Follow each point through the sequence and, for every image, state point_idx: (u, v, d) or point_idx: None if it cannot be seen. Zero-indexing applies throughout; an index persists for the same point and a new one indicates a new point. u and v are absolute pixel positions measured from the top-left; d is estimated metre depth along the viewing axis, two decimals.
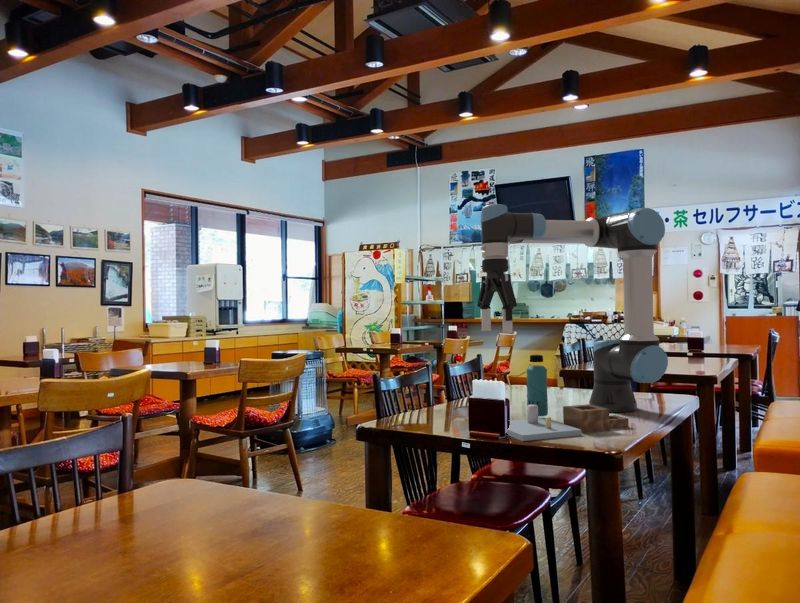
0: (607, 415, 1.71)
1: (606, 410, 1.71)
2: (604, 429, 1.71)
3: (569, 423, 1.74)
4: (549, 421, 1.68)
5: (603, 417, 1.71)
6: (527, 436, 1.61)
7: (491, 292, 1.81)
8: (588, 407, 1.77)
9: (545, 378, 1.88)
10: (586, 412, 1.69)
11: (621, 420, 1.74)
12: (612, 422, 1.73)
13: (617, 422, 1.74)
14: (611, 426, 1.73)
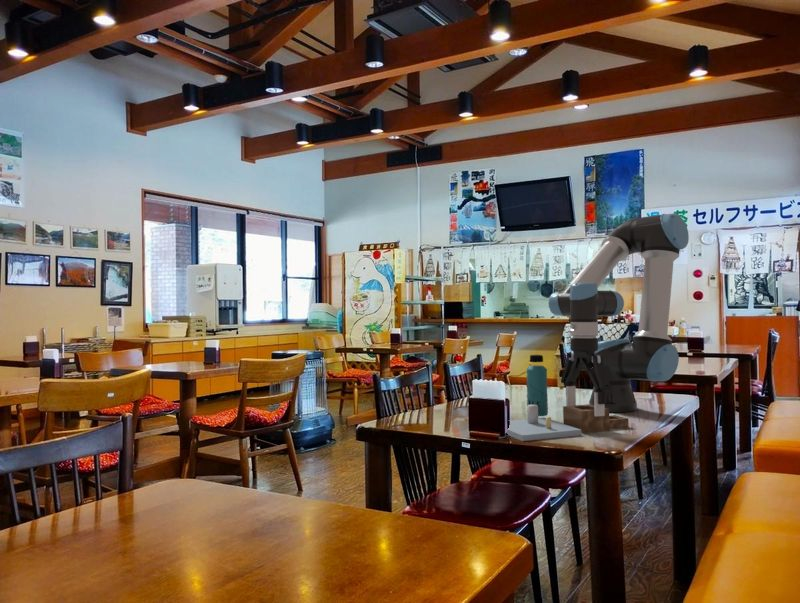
0: (607, 415, 1.71)
1: (606, 410, 1.71)
2: (604, 429, 1.71)
3: (569, 423, 1.74)
4: (549, 421, 1.68)
5: (603, 417, 1.71)
6: (527, 436, 1.61)
7: (578, 370, 1.77)
8: (588, 407, 1.77)
9: (545, 378, 1.88)
10: (586, 412, 1.69)
11: (621, 420, 1.74)
12: (612, 422, 1.73)
13: (617, 422, 1.74)
14: (611, 426, 1.73)
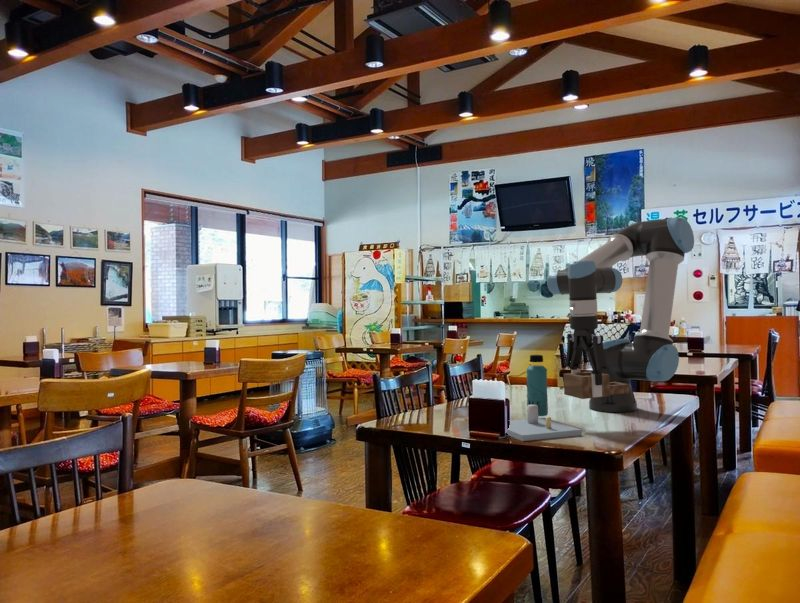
0: (607, 381, 1.71)
1: (606, 376, 1.71)
2: (605, 395, 1.71)
3: (570, 390, 1.74)
4: (549, 421, 1.68)
5: (603, 383, 1.71)
6: (527, 436, 1.61)
7: (580, 350, 1.77)
8: (588, 374, 1.77)
9: (545, 378, 1.88)
10: (586, 378, 1.69)
11: (621, 386, 1.75)
12: (612, 388, 1.74)
13: (617, 388, 1.74)
14: (612, 392, 1.74)
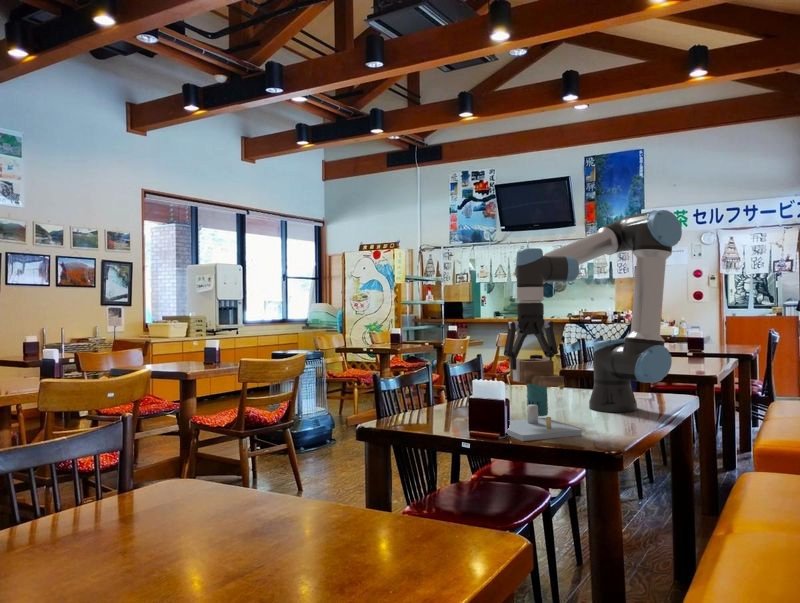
0: (524, 368, 1.72)
1: (523, 363, 1.72)
2: (522, 381, 1.73)
3: None
4: (549, 421, 1.68)
5: (522, 369, 1.73)
6: (527, 436, 1.61)
7: (538, 337, 1.77)
8: None
9: None
10: None
11: (540, 377, 1.67)
12: (534, 377, 1.69)
13: (537, 378, 1.68)
14: (533, 381, 1.70)
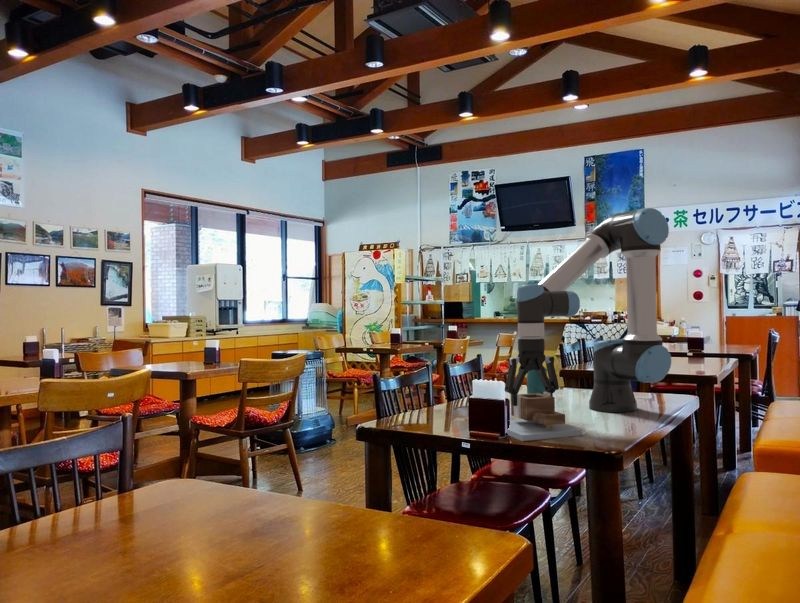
0: (525, 405, 1.72)
1: (524, 399, 1.72)
2: (523, 418, 1.73)
3: None
4: None
5: (523, 406, 1.73)
6: (527, 436, 1.61)
7: (539, 372, 1.77)
8: None
9: None
10: None
11: (541, 415, 1.66)
12: (535, 415, 1.69)
13: (538, 416, 1.68)
14: (534, 418, 1.70)
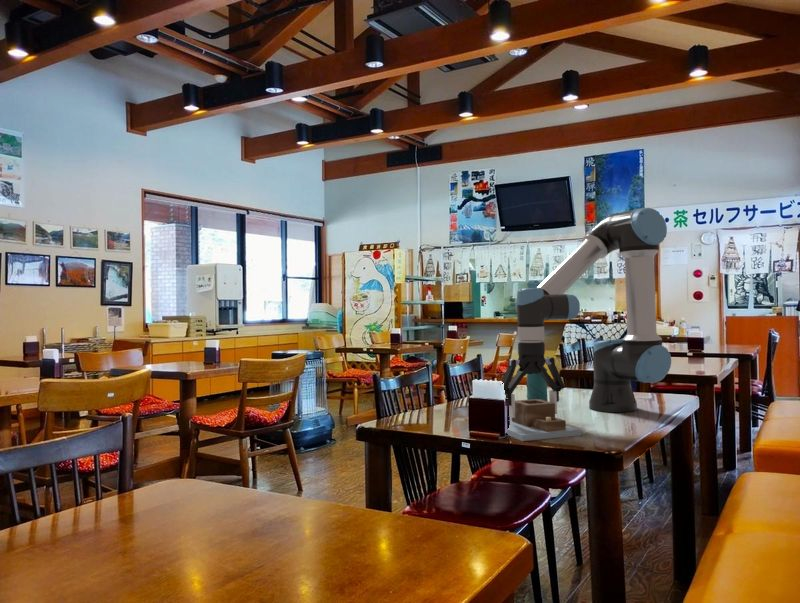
0: (525, 411, 1.72)
1: (525, 406, 1.72)
2: (524, 424, 1.73)
3: None
4: None
5: (523, 412, 1.73)
6: (527, 436, 1.61)
7: (542, 374, 1.78)
8: None
9: None
10: None
11: (541, 422, 1.67)
12: (535, 421, 1.69)
13: (538, 422, 1.68)
14: (535, 425, 1.70)
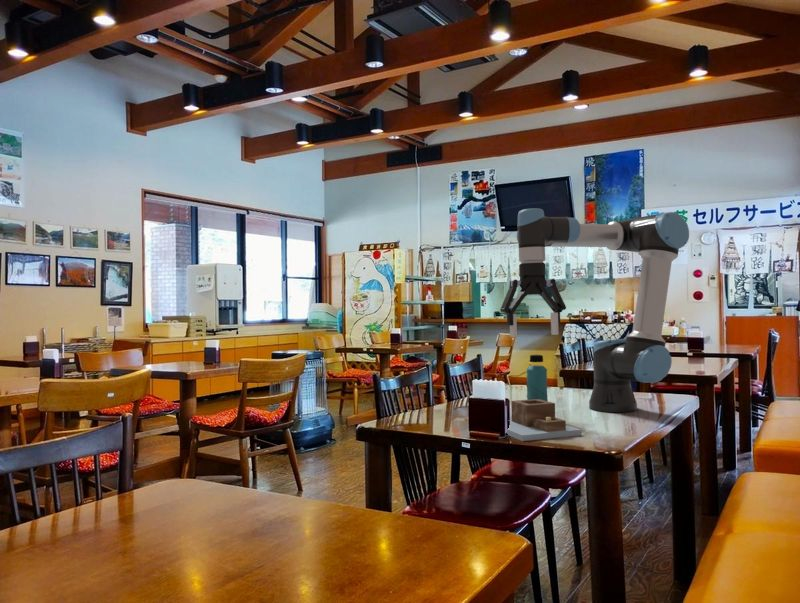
0: (525, 411, 1.72)
1: (525, 406, 1.72)
2: (524, 424, 1.73)
3: None
4: None
5: (523, 412, 1.73)
6: (527, 436, 1.61)
7: (543, 295, 1.78)
8: None
9: (545, 378, 1.88)
10: (514, 403, 1.78)
11: (541, 422, 1.67)
12: (535, 421, 1.69)
13: (538, 422, 1.68)
14: (535, 425, 1.70)
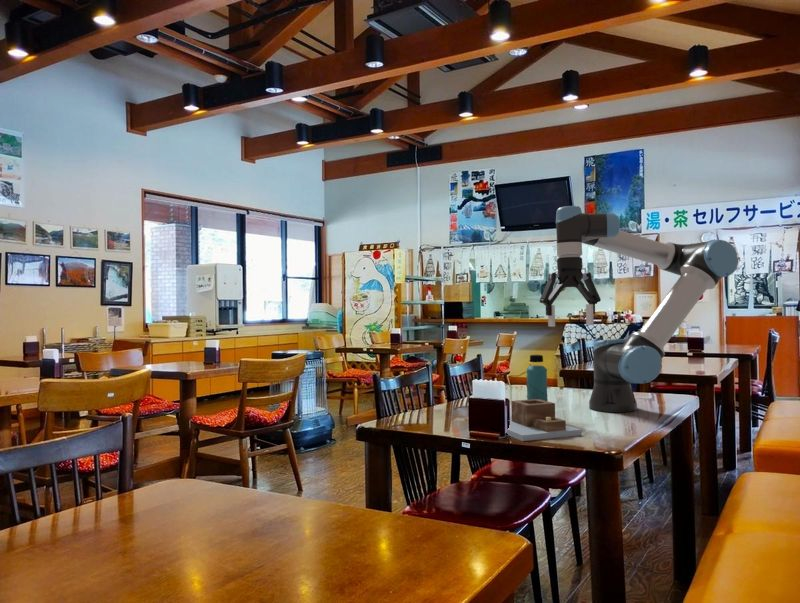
0: (525, 411, 1.72)
1: (525, 406, 1.72)
2: (524, 424, 1.73)
3: None
4: None
5: (523, 412, 1.73)
6: (527, 436, 1.61)
7: (579, 288, 1.90)
8: None
9: (545, 378, 1.88)
10: (514, 403, 1.78)
11: (541, 422, 1.67)
12: (535, 421, 1.69)
13: (538, 422, 1.68)
14: (535, 425, 1.70)
